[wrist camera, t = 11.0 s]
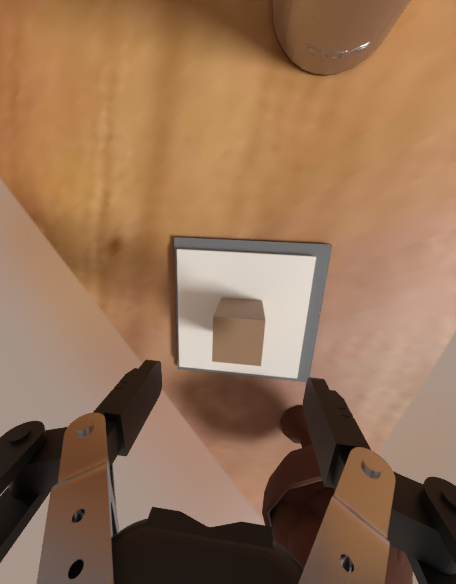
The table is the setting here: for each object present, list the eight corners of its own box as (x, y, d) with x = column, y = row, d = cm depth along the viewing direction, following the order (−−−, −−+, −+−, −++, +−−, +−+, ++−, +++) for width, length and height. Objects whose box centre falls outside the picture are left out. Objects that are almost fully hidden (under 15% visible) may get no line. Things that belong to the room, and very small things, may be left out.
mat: (176, 237, 21) (173, 237, 21) (329, 244, 20) (332, 244, 20) (179, 365, 25) (177, 368, 25) (307, 378, 24) (308, 382, 24)
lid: (179, 248, 21) (154, 254, 15) (313, 255, 20) (338, 264, 14) (181, 362, 25) (161, 400, 19) (295, 373, 23) (309, 417, 18)
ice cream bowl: (267, 460, 28) (286, 700, 14) (252, 390, 25) (255, 596, 11) (352, 455, 26) (474, 721, 12) (345, 380, 24) (493, 606, 9)
